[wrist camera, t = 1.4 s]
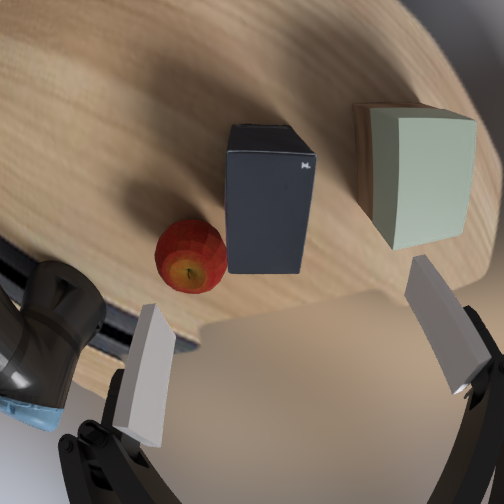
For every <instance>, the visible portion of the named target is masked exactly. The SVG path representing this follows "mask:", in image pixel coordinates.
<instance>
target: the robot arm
mask: <svg viewBox="0 0 504 504" xmlns="http://www.w3.org/2000/svg"><path fill="white" fill-rule="evenodd" d="M404 296H405V297H406V299H407V301H408V303H409V304H410V306H411V308H412V310H413V312H414V314H415V315H416V317H417V319H418V321H419V323H420V325H421V327H422V329H423V331H424V333H425V335H426V336H427V339H428V341H429V343H430V345H431V347H432V349H433V351H434V353H435V355H436V358H437V360H438V362H439V364H440V366H441V368H442V371H443V373H444V375H445V378H446V379H447V382H448V385H449V387H450V389H451V392H452V394H453V395H454V394H456V393H458V392H460V391H462V390H464V389H465V388H466V387H467V386H468V385H469V384H470V383H471V385H472V388H471V389H470V390H469V391H468V392H467V393H466V395H465V396H464V399H466V398H467V396H469V398H468V402H467V406H466V409H465V413H464V416H463V419H462V422H461V426H460V429H459V432H458V435H457V438H456V440H455V443H454V446H453V448H452V451H451V454H450V456H449V459H448V461H447V463H446V465H445V468H444V470H443V472H442V474H441V477H440V479H439V481H438V483H437V485H436V487H435V489H434V491H433V493H432V495H431V496H430V498H429V501H428V502H427V504H481V501H482V499H483V497H484V495H485V492H486V490H487V488H488V485H489V483H490V480H491V477H492V475H493V472H494V469H495V466H496V469H495V475H494V480H493V485H492V490H491V494H490V498H489V502H488V504H504V355H503V354H502V353H501V352H500V350H499V349H498V347H497V345H496V343H495V341H494V340H493V338H492V336H491V335H490V333H489V331H488V329H487V328H486V326H485V324H484V323H483V322H482V320H481V318H480V316H479V315H478V313H477V312H476V311H475V310H474V309H473V308H471V307H470V306H469V305H468V306H465V307H462V306H461V304H460V303H459V301H458V300H457V298H456V297H455V295H454V294H453V292H452V291H451V289H450V288H449V286H448V285H447V284H446V282H445V281H444V279H443V278H442V277H441V275H440V274H439V272H438V271H437V270H436V268H435V267H434V266H433V264H432V263H431V262H430V260H429V259H428V258H427V257H426V255H425V254H424V255H420V256H416V257H413V260H412V265H411V269H410V274H409V278H408V283H407V287H406V291H405V295H404ZM105 317H106V305H105V302H104V300H103V298H102V296H101V294H100V293H99V291H98V290H97V288H96V287H95V286H94V285H93V284H92V283H91V282H90V281H89V280H88V279H87V278H86V277H85V276H84V275H82V274H81V273H80V272H78V271H77V270H75V269H73V268H72V267H70V266H68V265H65V264H63V263H59V262H55V261H45V262H41V263H39V264H38V265H37V266H36V267H35V268H34V269H33V271H32V272H31V274H30V275H29V277H28V279H27V283H26V287H25V290H24V295H23V299H22V304H21V308H20V311H19V310H18V309H17V308H16V306H15V305H14V304H13V302H12V301H11V300H10V298H9V297H8V295H7V294H6V293H5V291H4V290H3V288H2V287H1V285H0V411H1V412H3V413H5V414H7V415H8V416H11V417H12V418H15V419H16V420H18V421H21V422H23V423H25V424H27V425H30V426H32V427H35V428H37V429H40V430H43V431H48V432H49V431H53V430H55V429H56V428H57V426H58V423H59V420H60V417H61V414H62V412H63V411H64V406H65V402H66V399H67V395H68V391H69V388H70V384H71V381H72V378H73V374H74V371H75V368H76V365H77V362H78V359H79V356H80V353H81V351H82V350H83V349H84V347H85V346H86V345H87V344H88V343H89V342H90V341H91V340H92V338H93V337H94V336H95V335H96V334H97V333H98V332H99V331H100V329H101V327H102V325H103V322H104V320H105ZM175 339H176V336H175V334H174V332H173V331H172V329H171V328H170V326H169V324H168V323H167V321H166V320H165V318H164V316H163V315H162V313H161V311H160V310H159V308H158V306H157V304H156V303H155V304H147V305H143V307H142V310H141V313H140V316H139V320H138V323H137V326H136V330H135V333H134V337H133V340H132V344H131V347H130V351H129V355H128V359H127V362H126V366H125V369H117V370H116V372H115V373H114V375H113V377H112V379H111V383H110V387H109V388H110V389H109V391H108V397H107V399H106V403H105V407H104V412H103V417H102V421H101V424H99V423H97V422H96V421H94V420H86V421H84V422H83V423H82V424H81V425H80V427H79V429H78V437H75V436H73V435H71V434H65V435H63V436H62V437H61V438H60V440H59V443H58V450H59V457H60V462H61V468H62V473H63V477H64V482H65V486H66V490H67V494H68V498H69V501H70V504H182V503H181V502H180V501H179V500H178V498H177V497H176V496H175V495H174V493H173V492H172V491H171V490H170V489H169V487H168V486H167V485H166V483H165V482H164V481H163V479H162V478H161V477H160V475H159V474H158V472H157V471H156V470H155V468H154V467H153V465H152V464H151V463H150V461H149V460H148V458H147V457H146V455H145V454H144V452H143V451H142V450H141V448H140V443H142V444H144V445H146V446H152V447H161V441H162V432H163V422H164V414H165V406H166V398H167V391H168V383H169V377H170V370H171V363H172V357H173V351H174V345H175Z"/></svg>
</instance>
